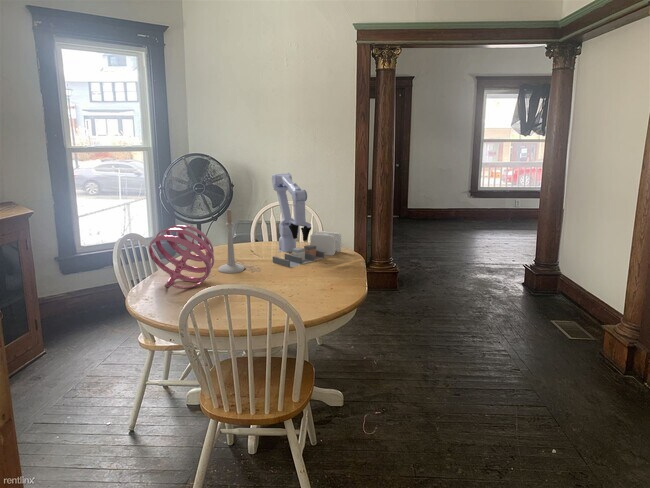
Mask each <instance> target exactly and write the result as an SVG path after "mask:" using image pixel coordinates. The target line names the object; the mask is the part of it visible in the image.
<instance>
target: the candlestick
mask: <svg viewBox="0 0 650 488" xmlns="http://www.w3.org/2000/svg"><path fill="white" fill-rule="evenodd" d="M226 217H227V218H226V219H227V222H226V223H225V225H226V227H227V229H228V230H227V263H225V264H222V265H221V266H218V268H217V271H218V272H219V273H222V274H237V273H241V272H243V271H245V270H246V267H244V265H243V264H240V263H236V258H235V249H234V240H233V230H232V229H233V225H234V223H233V222H232V220H233V219H232V209H230V208H227V209H226Z"/></svg>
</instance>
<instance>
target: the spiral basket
mask: <svg viewBox="0 0 650 488" xmlns="http://www.w3.org/2000/svg"><path fill="white" fill-rule="evenodd" d="M186 229H187V230H186ZM189 230H191V231H192V232H191V231H189ZM172 232H173V233H174V232H175V233H177V236H176V235H172ZM193 232H195V233H197V234H198V235H199V236H201V237H203V238H204V239H202V238H201V237H199V236H198V235H197V234H195V233H193ZM163 233H165V234H163ZM162 234H163V235H162ZM186 236H188V238H189V237H190V238H191V239H192V240H191V241H190V240H189V239H188V238H187V237H186ZM161 241H166V243H168V245H169V246H170V247H171V249H172V250H173V251H175V252H176V253H177V254H179V255H180V256H181V259H180V260H178V259H176V258H175V257H174V256H172V255H171V254H170V253H168V251H167V250H166V249H165V248H164V246H163V245H162V242H161ZM195 241H196V242H197V243H195ZM153 244H155V246H156V249H157V250H158V251H159V254H161V255H162V256H163V258H164V259H166V260H167V261H168V262H170V263H171V264H172V265H174V266H175V269H172V268H169V267H168V266H166V265H165V264H164V263H163V262H162V261H161V260H160V259H159V258H158V257H157V255H156V254H155V252H154V250H153ZM177 244H179V245H181V246H183V247H185V248H187V249H185V250H184V249H183V248H181V247H180V246H179V245H177ZM191 251H192V252H193V253H195V254H193V253H192V252H191ZM203 251H205V253H204V252H203ZM214 251H215V250H214V246H213V244H212V242H211V240H210V239H209V238H208V237H207V235H206V234H205V233H204V232H202V231H201V229H198V228H196V227H194V226H190V225H187V224H185V225H184V224H175V225H171V226H169V227H166V228H164V229H162V230H160V231H159V232H158V233H157V234H156V235H155V237H154V238H153V239H152V240H151V241H150V243H149V245H148V252H149V257H150V258H151V259H152V261H153V263H154V264H156V265H157V266H158V267H159V268H160V269H161V270H162V271H163V272H165V273H166V274H168V275H169V279H168V281H167V282H166V283H165V284H164V287H165V288H169V287H170V286H172V288H175V289H179V290H190V289H193V288H196V287H198V286H199V285H201V284H202V283H203V282H204V281H205V280H206V279H207V278H208V277H209V276H210V274H211V272H212V269H213V267H214V265H215V253H214ZM188 260H191V261H195V262H201V263H202V262H203V263H204V265H205V266H202V267H197V266H193V265H188V264H187V261H188ZM182 271H186V272H191V273H197V274H200V273H201V274H202V273H204V274H203V276H202V277H192V276H191V277H190V276H186V275H185V274H184V275H183V274H181V272H182ZM176 280H181V281H184V282H188V281H189V282H190V283H195V284H193V285H190V286H179V285H176V284H173V283H175V281H176Z"/></svg>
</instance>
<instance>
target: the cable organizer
mask: <svg viewBox="0 0 650 488" xmlns="http://www.w3.org/2000/svg"><path fill="white" fill-rule="evenodd" d="M309 241H310V242H309V243H310V244H309V245H315V246H316V250H318V251H322V252H324V256H334V255H335V253H341V251H342V234H341V233H339V232H336V231H335V232H334V231H324V230H319V231H316V233H312V234H311V235H310V240H309Z"/></svg>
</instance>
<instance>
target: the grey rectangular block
mask: <svg viewBox="0 0 650 488" xmlns="http://www.w3.org/2000/svg"><path fill="white" fill-rule="evenodd" d="M291 255H294V256H297V257H301V258H302V260H305V248H304V247H301V246H300V247H296V248H294V249H292V252H291Z"/></svg>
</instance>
